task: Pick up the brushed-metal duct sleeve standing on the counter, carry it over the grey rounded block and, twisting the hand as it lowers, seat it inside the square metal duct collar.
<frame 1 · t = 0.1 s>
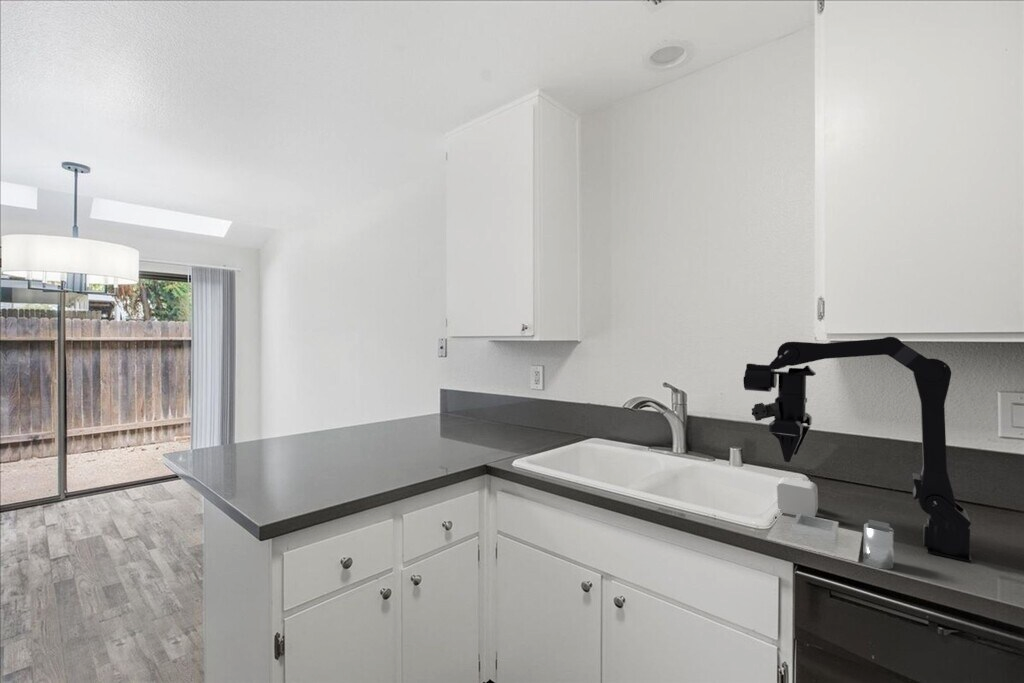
hand: (790, 457, 114), 15 cm above the counter, fingers open, 9 cm apart
duct socket: (815, 537, 104), on the counter
duct sleeve: (877, 563, 92), on the counter
grey rounded block: (799, 512, 119), on the counter
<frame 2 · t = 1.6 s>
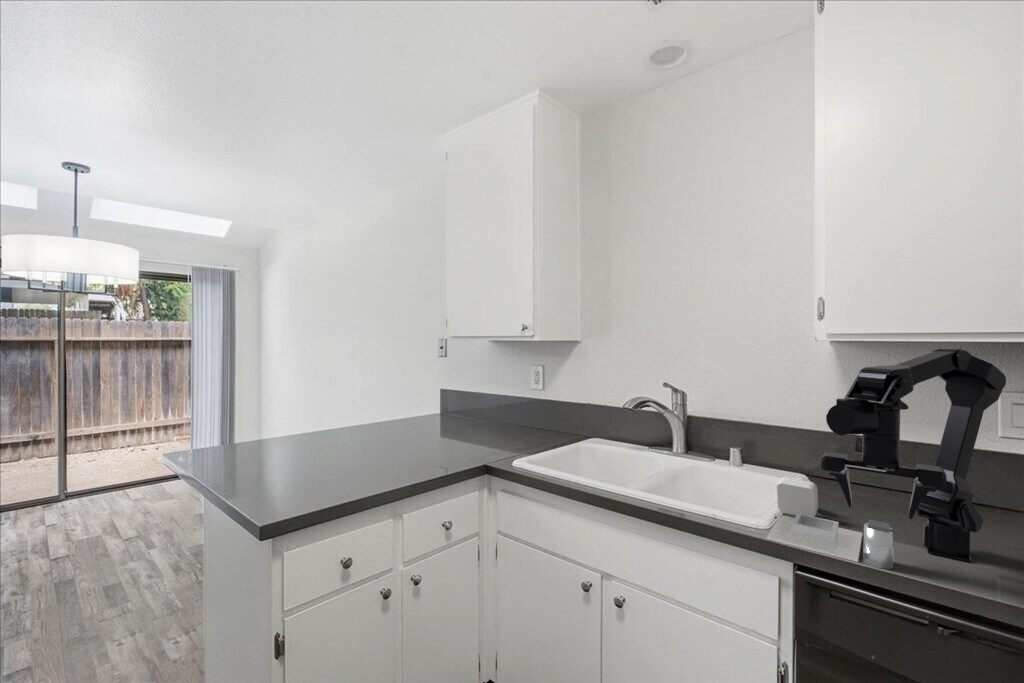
hand: (879, 512, 92), 10 cm above the counter, fingers open, 9 cm apart
nothing on the counter moved.
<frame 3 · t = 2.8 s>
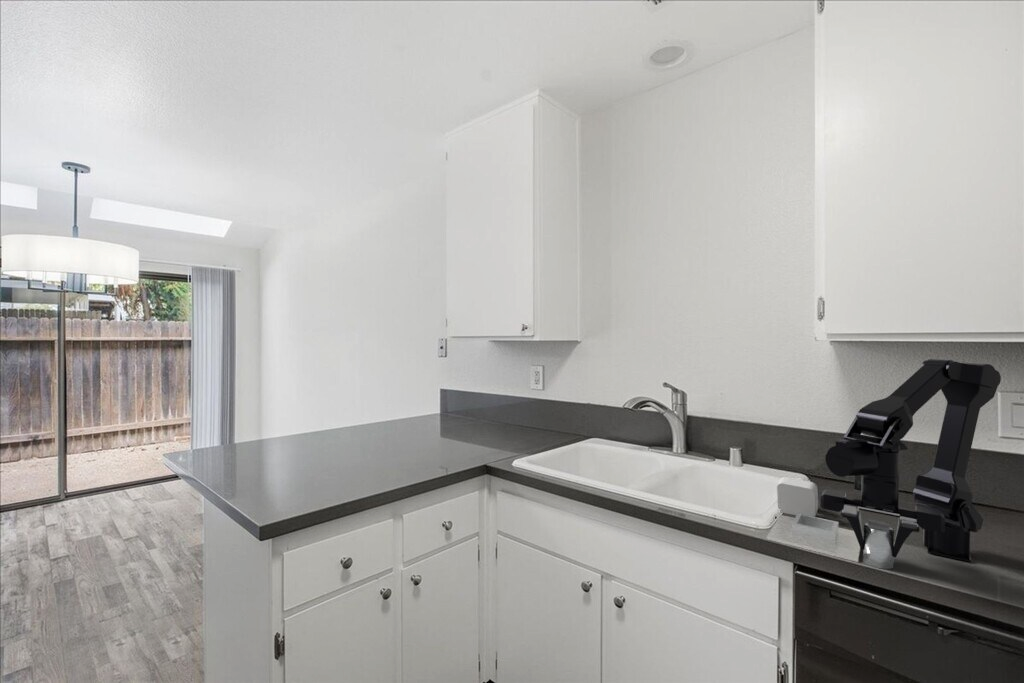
hand: (878, 552, 92), 2 cm above the counter, fingers closed on duct sleeve, 5 cm apart
duct sleeve: (877, 563, 92), on the counter, touching gripper
everything else where it was.
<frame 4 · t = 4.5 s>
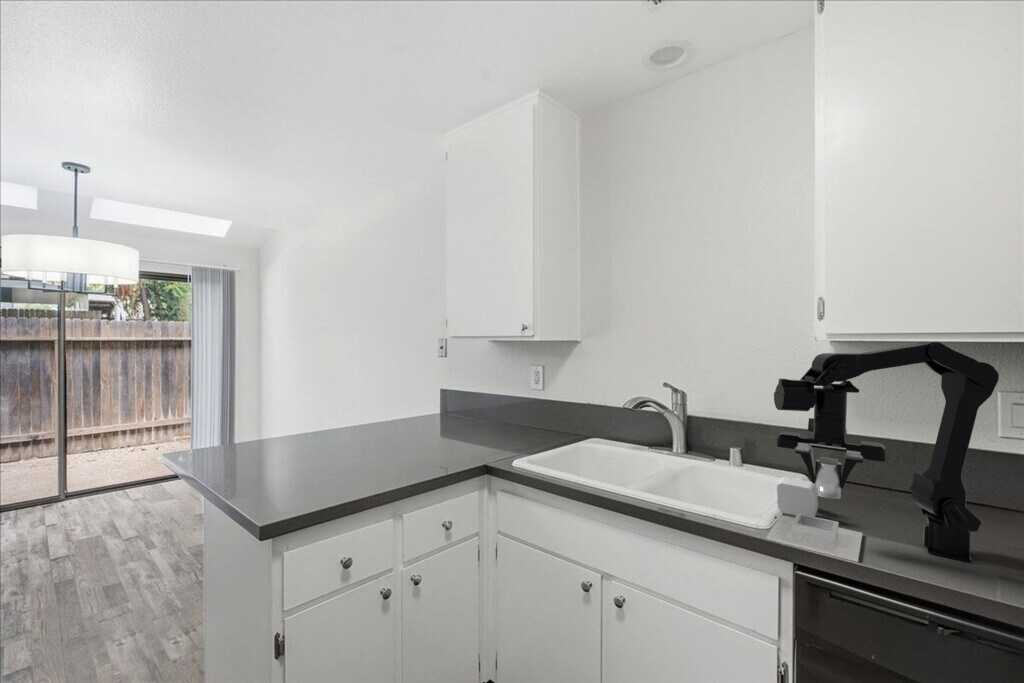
hand: (827, 485, 101), 12 cm above the counter, fingers closed on duct sleeve, 5 cm apart
duct sleeve: (827, 495, 101), point 10 cm above the counter, touching gripper
everything else where it was.
when the fingers open (4 cm above the counter, at t = 6.2 s): duct sleeve drops 2 cm, resting on duct socket.
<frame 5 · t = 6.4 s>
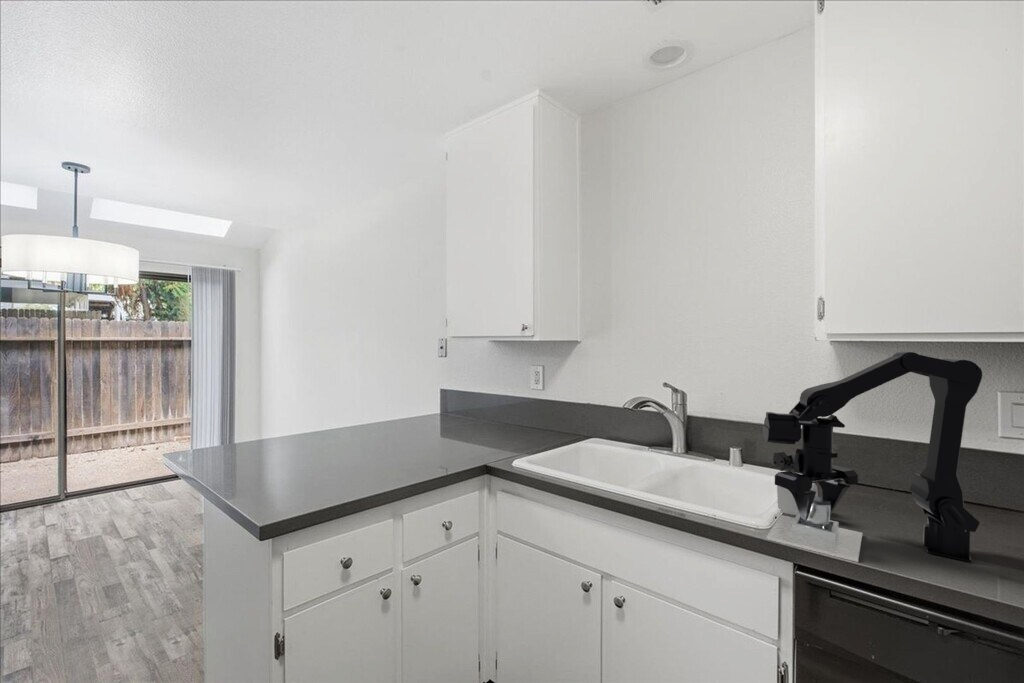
hand: (815, 516, 103), 4 cm above the counter, fingers open, 7 cm apart
duct sleeve: (815, 534, 103), point 1 cm above the counter, touching duct socket
everything else where it was.
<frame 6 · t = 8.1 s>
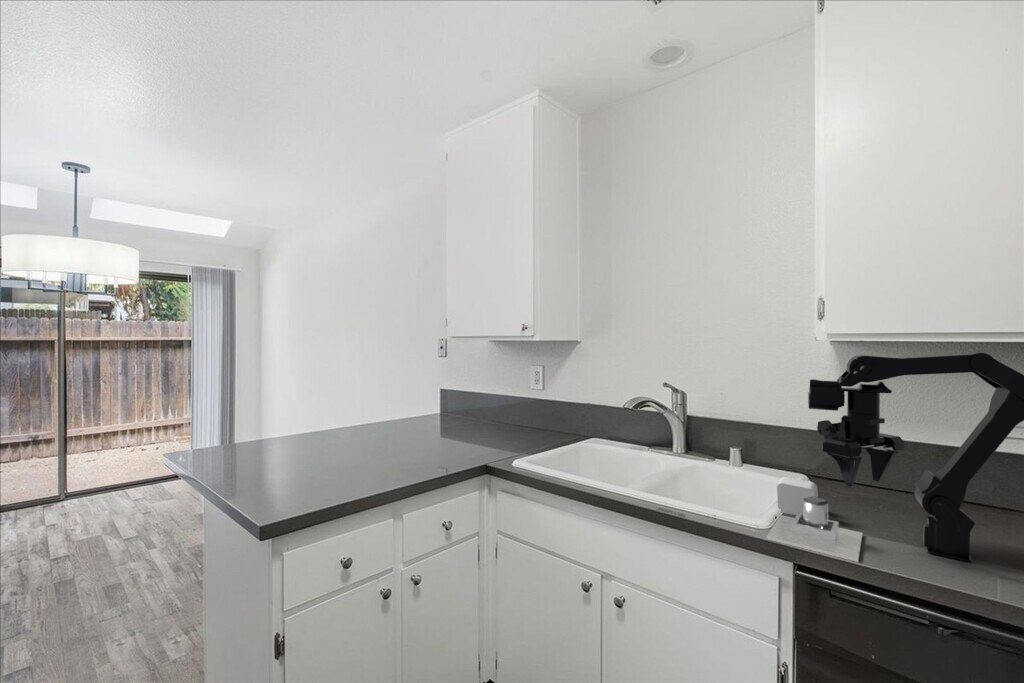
hand: (862, 483, 104), 12 cm above the counter, fingers open, 9 cm apart
nothing on the counter moved.
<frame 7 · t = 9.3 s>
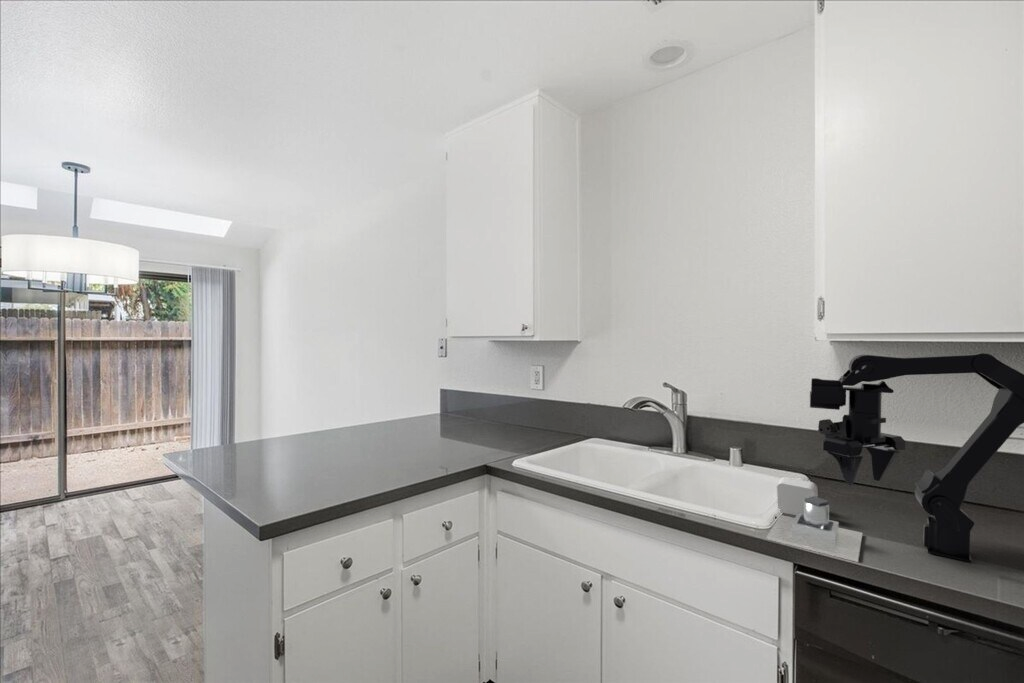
hand: (863, 482, 104), 12 cm above the counter, fingers open, 9 cm apart
nothing on the counter moved.
at the end: duct sleeve 0.1 cm off-centre on the duct socket, point 0.7 cm above the duct socket's base; duct sleeve tilted 2°; the gripper is holding nothing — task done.
